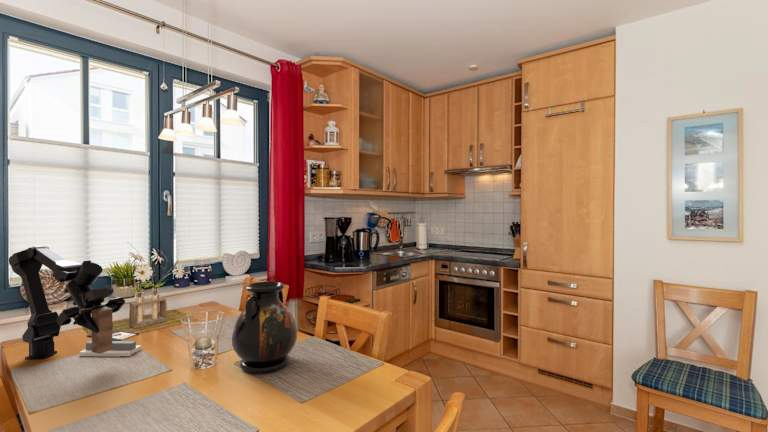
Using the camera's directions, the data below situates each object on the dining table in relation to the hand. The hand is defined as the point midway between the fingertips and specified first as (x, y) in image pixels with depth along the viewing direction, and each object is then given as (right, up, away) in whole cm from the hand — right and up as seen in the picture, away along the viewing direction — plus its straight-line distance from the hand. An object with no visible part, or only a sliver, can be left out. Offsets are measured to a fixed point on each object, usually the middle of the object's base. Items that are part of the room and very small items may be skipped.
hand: (104, 330), depth 124 cm
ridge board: (-9, -13, +15) cm, 22 cm away
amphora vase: (+52, -14, +5) cm, 54 cm away
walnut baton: (-1, -7, +1) cm, 7 cm away
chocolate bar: (-22, -13, +34) cm, 43 cm away
